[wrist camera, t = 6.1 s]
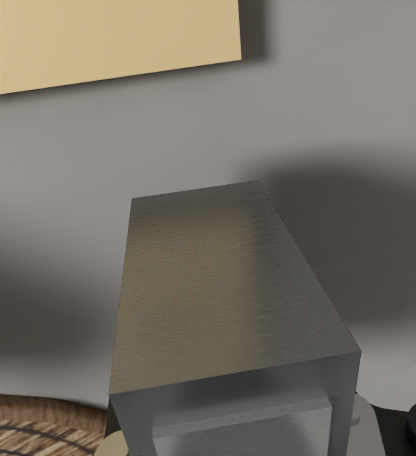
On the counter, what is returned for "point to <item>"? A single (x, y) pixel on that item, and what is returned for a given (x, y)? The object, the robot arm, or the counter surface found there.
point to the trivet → (49, 427)
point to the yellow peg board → (110, 39)
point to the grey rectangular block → (227, 334)
